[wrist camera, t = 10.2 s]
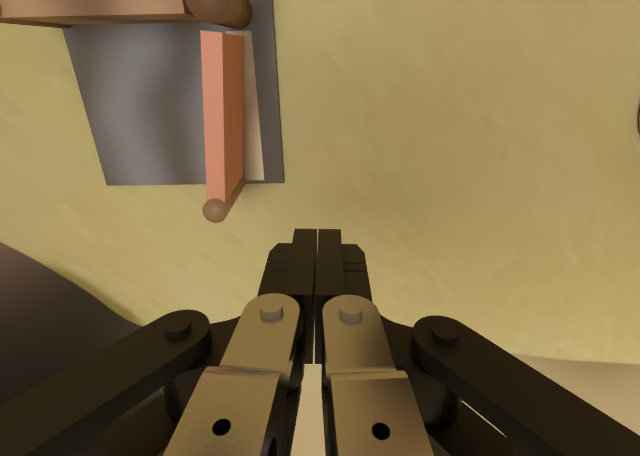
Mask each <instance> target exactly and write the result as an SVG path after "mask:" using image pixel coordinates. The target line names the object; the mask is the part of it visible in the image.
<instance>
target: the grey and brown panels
mask: <svg viewBox="0 0 640 456" xmlns="http://www.w3.org/2000/svg"><path fill="white" fill-rule="evenodd" d="M0 23H9V24H20V25H32V26H43V27H55V28H62V29H63V33H64V36H65V40H66V43H67V47H68V50H69V54H70V57H71V61H72V64H73V68H74V71H75V75H76V78H77V82H78V85H79V89H80V92H81V96H82V99H83V103H84V106H85V110H86V114H87V117H88V121H89V124H90V128H91V131H92V135H93V138H94V142H95V145H96V149H97V152H98V156H99V159H100V163H101V166H102V170H103V173H104V177H105V180H106V184H107V186H109V185H179V184H206V163H205V137H204V112H203V87H202V61H201V36H200V30H203V31H212V32H221V33H227V34H233V35H238V36H244V72H243V177H244V178H245V184H250V183H284V173H283V157H282V142H281V126H280V110H279V95H278V79H277V63H276V48H275V32H274V17H273V1H272V0H0Z"/></svg>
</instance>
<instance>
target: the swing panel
mask: <svg viewBox="0 0 640 456" xmlns="http://www.w3.org/2000/svg"><path fill="white" fill-rule="evenodd" d="M200 36H201V61H202V87H203V112H204V137H205V163H206V188H207V202H206V203H205V205H204V206H203V215H204V216H205V218H206V219H207V220H209V221H210V222H214V223H219V222H221V221H223V220H224V219H225V218H226V216H227V214H228V213H229V211H230V209H231V208H232V206H233V204H234V203H235V201H236V199H237V197H238V196H239V194H240V192H241V191H242V189H243V187H244V186H245V178H244V177H243V72H244V36H238V35H233V34H227V33H221V32H212V31H203V30H200Z"/></svg>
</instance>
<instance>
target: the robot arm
mask: <svg viewBox="0 0 640 456" xmlns="http://www.w3.org/2000/svg"><path fill="white" fill-rule="evenodd" d="M639 129H640V114H639ZM314 325H315V364H322V389H321V391H322V407H323V420H324V421H323V422H324V437H325V452H326V456H640V436H639V435H638V434H636V433H634V432H633V431H631V430H630V429H628V428H627V427H625V426H623V425H622V424H620V423H619V422H617V421H615V420H614V419H612V418H611V417H609V416H608V415H606V414H604V413H603V412H601V411H600V410H598V409H596V408H595V407H593V406H592V405H590V404H589V403H587V402H585V401H584V400H582V399H581V398H579V397H577V396H576V395H574V394H573V393H571V392H570V391H568V390H567V389H565V388H563V387H561V386H560V385H559V384H557V383H555V382H554V381H552V380H551V379H549V378H547V377H546V376H544V375H543V374H541V373H540V372H538V371H536V370H535V369H533V368H532V367H530V366H528V365H527V364H525V363H524V362H522V361H520V360H519V359H518V358H516V357H514V356H512V355H511V354H510V353H508V352H506V351H505V350H503V349H502V348H500V347H499V346H497V345H495V344H494V343H492V342H491V341H489V340H488V339H486V338H484V337H483V336H481V335H480V334H478V333H476V332H475V331H473V330H472V329H470V328H469V327H467V326H465V325H464V324H462V323H460V322H459V321H457V320H454V319H452V318H449V317H444V316H427V317H423V318H421V319H420V320H418V321H417V322H416V323H415V325H414V327H409V326H405V325H401V324H398V323H395V322H392V321H390V320H388V319H386V318H384V317H383V316H382V315H380V314H379V311H378V309H377V307H376V306H375V305H374V304H373V302H372V296H371V290H370V284H369V278H368V272H367V266H366V260H365V254H364V252H363V251H362V250H361V249H360V248H359V247H358V245H357V244H341V229H319V233H318V251H317V229H295V231H294V236H293V242H292V243H278V244H277V245H276V246H275V247H274V248H273V249H272V250H271V251H270V252H269V256H268V259H267V263H266V266H265V271H264V274H263V277H262V281H261V284H260V288H259V291H258V295H257V297H256V298H254V299H252V300H251V301H250V302H248V304H247V305H246V306H245V308H244V310H243V312H242V314H241V316H239V317H237V318H234V319H231V320H227V321H223V322H218V323H213V324H210V323H209V320H208V318H207V316H206V315H204V314H203V313H201V312H199V311H195V310H179V311H175V312H171V313H169V314H166V315H164V316H162V317H160V318H158V319H157V320H155V321H153V322H151V323H149V324H148V325H146V326H144V327H142V328H140V329H139V330H137V331H135V332H133V333H131V334H130V335H128V336H126V337H124V338H122V339H121V340H119V341H117V342H115V343H113V344H112V345H110V346H108V347H106V348H104V349H102V350H101V351H99V352H97V353H95V354H93V355H92V356H90V357H88V358H86V359H84V360H82V361H81V362H79V363H77V364H75V365H73V366H72V367H70V368H68V369H67V370H64V371H63V372H61V373H59V374H57V375H55V376H54V377H52V378H50V379H48V380H46V381H45V382H43V383H41V384H39V385H37V386H36V387H34V388H32V389H30V390H28V391H27V392H25V393H23V394H21V395H19V396H17V397H16V398H14V399H12V400H10V401H8V402H7V403H5V404H3V405H1V406H0V456H290V455H291V449H292V443H293V437H294V431H295V425H296V419H297V413H298V407H299V401H300V395H301V387H302V386H301V382H302V380H303V376H304V364H312V363H313V344H314ZM158 389H160V390H161V394H160V395H159V396H158V397H156V398H155V399H153V400H152V401H151V402H149V403H148V404H146V405H145V406H144V407H142V408H141V409H140V410H138V411H137V412H135V413H134V414H132V415H131V416H130V417H128V418H127V419H125V420H124V421H122V422H121V423H120V424H118V425H117V426H115V427H114V428H113V429H111V430H110V431H108V432H107V433H105V434H103V433H104V431H105V430H106V428H107V427H108V426H109V424H110V423H112V422H113V420H115V419H116V418H118V417H119V416H121V415H122V414H124V413H125V412H126V411H128V410H129V409H131V408H132V407H134V406H135V405H136V404H138V403H139V402H141V401H142V400H144V399H145V398H147V397H148V396H149V395H151V394H152V393H154V392H155V391H157V390H158ZM462 400H463V401H464V402H465V403H467V404H468V405H469V406H470V407H472V408H473V409H474V410H475V411H477V412H478V413H479V414H480V415H482V416H483V417H484V418H485V419H486V420H488V421H489V422H490V423H491V424H493V425H494V426H495V427H496V428H498V429H499V430H500V431H501V432H502V433H503V434H504V435H505V436H506V437H507V438H506V437H505V436H504V435H503V434H501V433H500V432H499V431H498V430H496V429H495V428H494V427H493V426H491V425H490V424H489V423H488V422H486V421H485V420H484V419H483V418H481V417H480V416H479V415H478V414H476V413H475V412H474V411H473V410H472V409H470V408H469V407H468V406H467V405H465V404H464V403H463V402H462Z"/></svg>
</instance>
